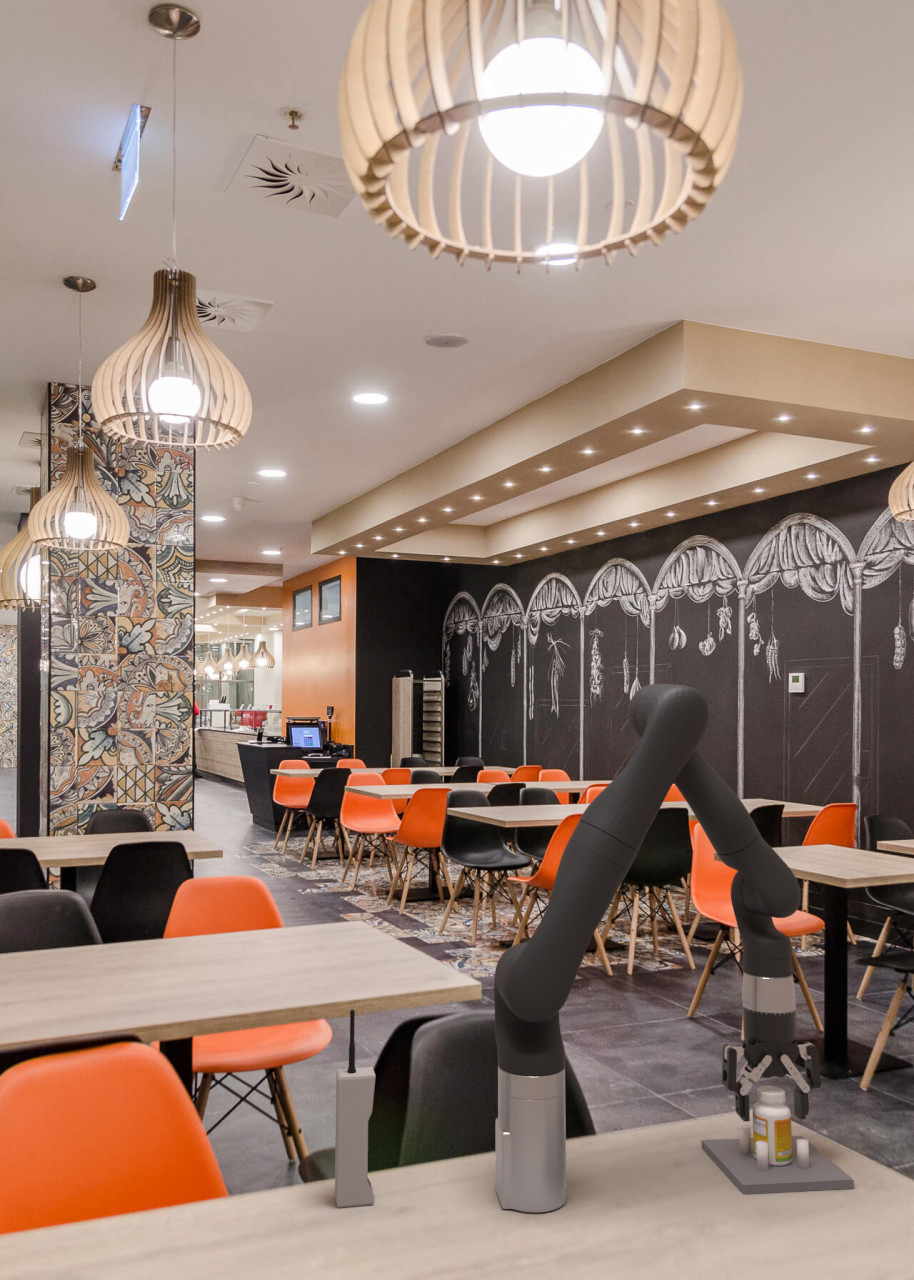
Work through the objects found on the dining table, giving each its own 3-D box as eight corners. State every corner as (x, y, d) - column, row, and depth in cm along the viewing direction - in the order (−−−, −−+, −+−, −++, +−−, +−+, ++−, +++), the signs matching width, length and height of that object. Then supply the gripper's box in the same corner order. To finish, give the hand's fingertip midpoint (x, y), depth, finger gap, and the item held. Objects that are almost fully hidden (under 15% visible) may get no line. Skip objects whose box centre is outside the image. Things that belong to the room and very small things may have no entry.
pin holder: (743, 1194, 137) (742, 1158, 137) (701, 1148, 152) (700, 1116, 153) (854, 1188, 138) (852, 1153, 139) (801, 1143, 154) (800, 1111, 155)
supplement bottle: (792, 1154, 147) (790, 1086, 148) (791, 1169, 142) (789, 1098, 143) (754, 1149, 149) (753, 1081, 150) (752, 1163, 144) (750, 1093, 145)
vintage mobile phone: (374, 1205, 133) (376, 1011, 136) (336, 1208, 132) (339, 1013, 135) (371, 1193, 137) (373, 1004, 140) (334, 1196, 136) (337, 1006, 139)
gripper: (732, 1012, 143) (735, 1130, 142) (826, 1009, 145) (831, 1126, 143) (713, 999, 151) (716, 1111, 149) (803, 996, 153) (807, 1107, 151)
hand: (772, 1118), depth 146 cm, fingers open, 8 cm apart
